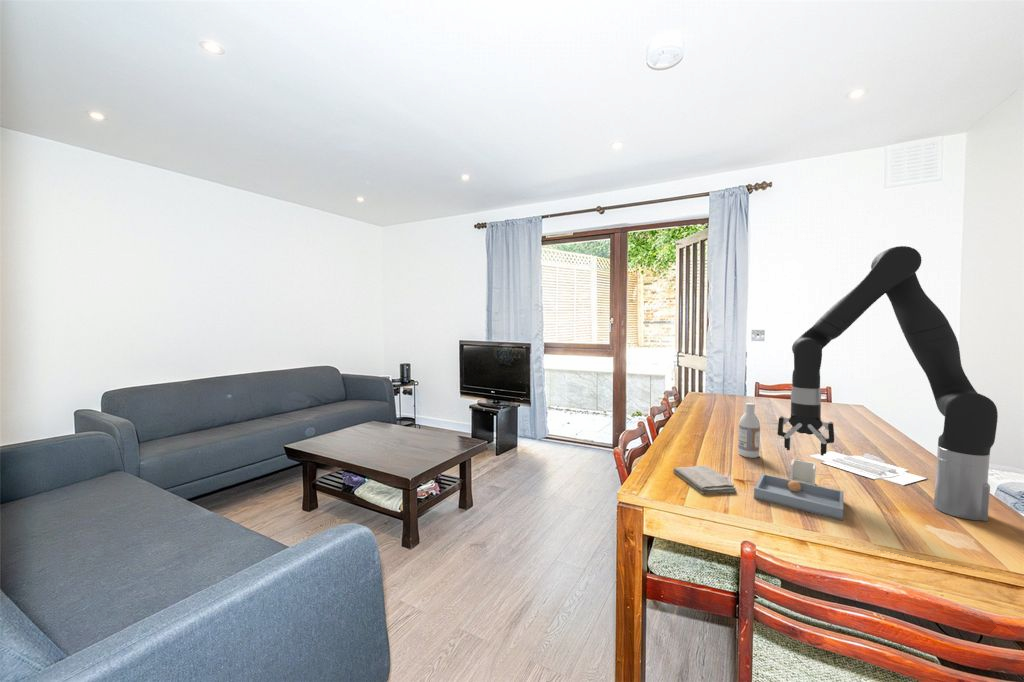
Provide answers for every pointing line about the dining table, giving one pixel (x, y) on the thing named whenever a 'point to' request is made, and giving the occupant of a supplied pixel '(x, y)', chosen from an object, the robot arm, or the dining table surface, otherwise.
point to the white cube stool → (803, 471)
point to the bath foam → (749, 433)
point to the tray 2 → (869, 467)
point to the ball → (794, 486)
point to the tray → (800, 496)
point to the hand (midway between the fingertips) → (804, 452)
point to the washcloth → (705, 479)
